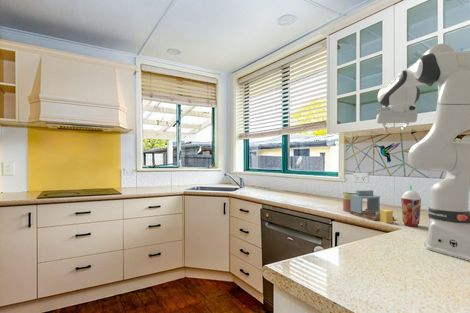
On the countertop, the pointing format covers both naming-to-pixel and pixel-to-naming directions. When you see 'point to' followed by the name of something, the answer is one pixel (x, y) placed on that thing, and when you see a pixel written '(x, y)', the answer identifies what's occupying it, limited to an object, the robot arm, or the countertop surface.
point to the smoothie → (411, 208)
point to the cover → (372, 201)
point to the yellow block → (386, 216)
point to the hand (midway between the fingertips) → (394, 130)
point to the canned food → (347, 200)
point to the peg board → (369, 214)
